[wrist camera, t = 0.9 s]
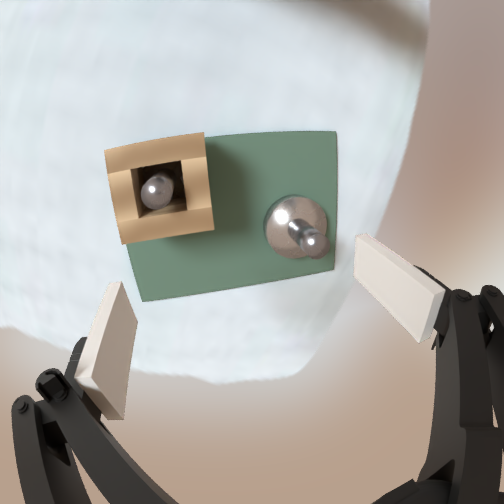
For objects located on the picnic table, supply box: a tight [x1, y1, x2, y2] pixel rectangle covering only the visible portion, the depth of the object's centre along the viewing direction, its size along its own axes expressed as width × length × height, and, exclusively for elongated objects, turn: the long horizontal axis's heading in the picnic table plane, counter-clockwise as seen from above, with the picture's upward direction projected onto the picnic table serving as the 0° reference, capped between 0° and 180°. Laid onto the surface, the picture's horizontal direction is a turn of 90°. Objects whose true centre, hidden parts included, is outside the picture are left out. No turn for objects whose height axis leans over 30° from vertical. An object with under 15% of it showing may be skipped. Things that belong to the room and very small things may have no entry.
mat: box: [126, 131, 337, 302], centre depth 34 cm, size 20×28×1 cm
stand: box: [141, 160, 186, 210], centre depth 26 cm, size 7×7×10 cm
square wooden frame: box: [104, 132, 214, 245], centre depth 26 cm, size 9×9×6 cm
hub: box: [263, 194, 330, 260], centre depth 32 cm, size 8×8×8 cm
